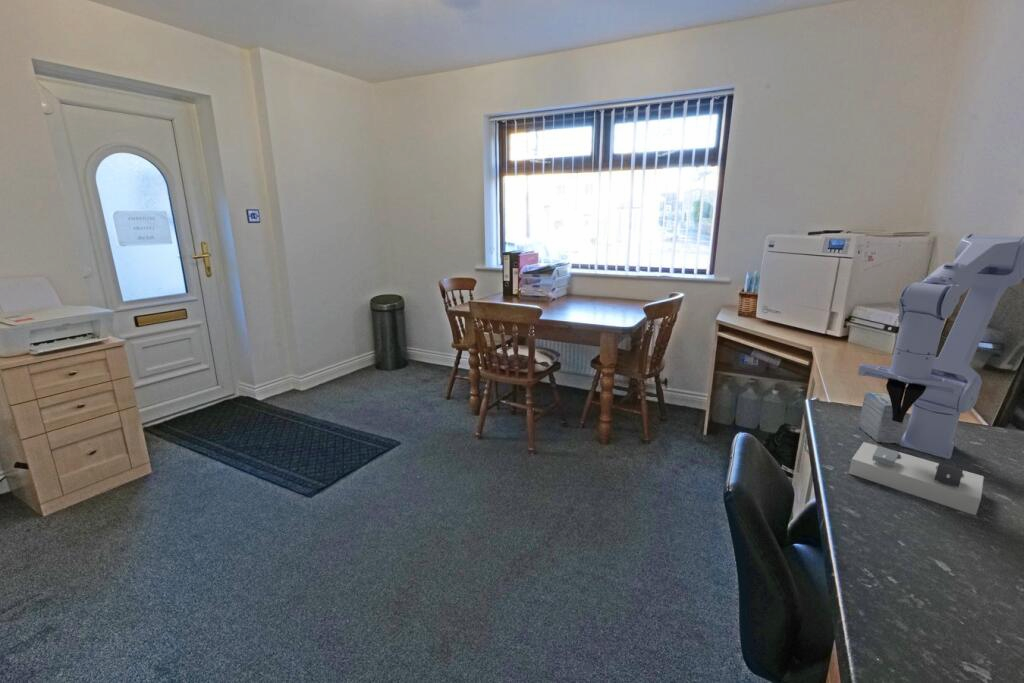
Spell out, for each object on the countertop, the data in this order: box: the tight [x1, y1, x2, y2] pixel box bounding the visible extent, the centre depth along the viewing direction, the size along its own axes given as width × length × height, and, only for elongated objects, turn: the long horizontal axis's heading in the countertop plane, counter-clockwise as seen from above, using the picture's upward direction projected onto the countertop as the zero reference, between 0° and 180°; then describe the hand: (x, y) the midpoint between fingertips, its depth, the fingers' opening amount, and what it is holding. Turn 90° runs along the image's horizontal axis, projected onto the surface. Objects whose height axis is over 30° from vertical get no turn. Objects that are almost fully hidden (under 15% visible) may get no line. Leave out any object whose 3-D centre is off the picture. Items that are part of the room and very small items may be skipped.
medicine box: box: [857, 392, 907, 445], centre depth 101 cm, size 8×4×9 cm, turn 168°
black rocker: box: [934, 462, 964, 487], centre depth 78 cm, size 4×3×1 cm
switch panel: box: [848, 441, 984, 516], centre depth 83 cm, size 10×17×3 cm, turn 44°
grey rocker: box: [872, 445, 899, 466], centre depth 84 cm, size 4×3×1 cm
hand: (897, 420), depth 87 cm, fingers closed
